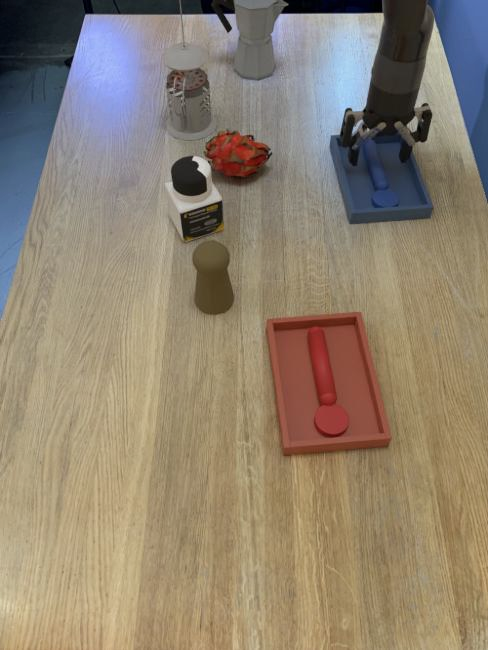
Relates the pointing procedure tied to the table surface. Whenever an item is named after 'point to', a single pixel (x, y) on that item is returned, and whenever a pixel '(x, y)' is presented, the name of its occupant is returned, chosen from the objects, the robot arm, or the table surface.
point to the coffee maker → (252, 34)
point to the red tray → (349, 378)
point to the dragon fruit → (236, 154)
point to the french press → (188, 91)
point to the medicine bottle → (194, 199)
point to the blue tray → (361, 186)
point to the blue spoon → (379, 178)
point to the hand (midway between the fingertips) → (377, 161)
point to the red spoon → (325, 388)
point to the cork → (212, 278)
